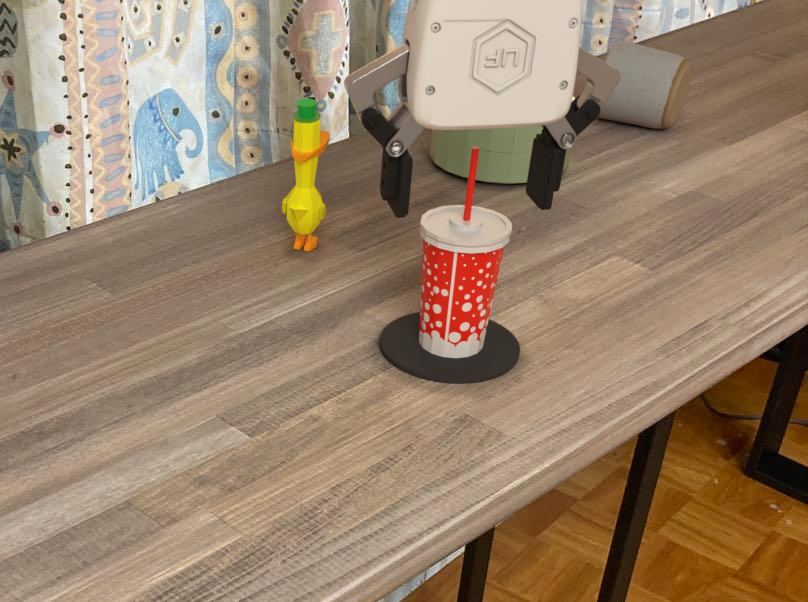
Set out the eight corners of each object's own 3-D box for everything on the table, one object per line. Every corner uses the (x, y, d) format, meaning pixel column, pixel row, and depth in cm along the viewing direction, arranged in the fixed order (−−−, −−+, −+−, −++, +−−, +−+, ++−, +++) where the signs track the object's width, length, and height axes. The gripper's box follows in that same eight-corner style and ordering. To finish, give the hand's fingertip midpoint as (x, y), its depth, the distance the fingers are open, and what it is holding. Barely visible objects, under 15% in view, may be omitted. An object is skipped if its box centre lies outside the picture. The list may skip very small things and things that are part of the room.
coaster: (520, 322, 84) (521, 317, 84) (517, 391, 76) (518, 386, 76) (387, 308, 85) (388, 304, 85) (371, 374, 78) (371, 369, 78)
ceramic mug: (664, 140, 115) (683, 61, 110) (586, 125, 118) (602, 48, 113) (690, 113, 122) (709, 37, 117) (616, 99, 125) (631, 26, 120)
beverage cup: (502, 330, 82) (532, 138, 73) (483, 370, 78) (513, 171, 69) (420, 315, 84) (441, 126, 75) (397, 353, 79) (416, 156, 71)
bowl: (566, 143, 114) (577, 82, 110) (567, 193, 104) (579, 127, 100) (435, 133, 116) (441, 72, 112) (424, 180, 106) (430, 116, 102)
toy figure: (299, 225, 97) (304, 82, 90) (338, 232, 96) (346, 88, 89) (272, 257, 92) (274, 108, 85) (313, 264, 91) (319, 114, 84)
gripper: (369, -70, 60) (351, 236, 70) (677, -76, 62) (614, 222, 72) (341, -96, 65) (328, 190, 76) (623, -101, 68) (572, 178, 78)
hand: (467, 205), depth 74 cm, fingers open, 9 cm apart
